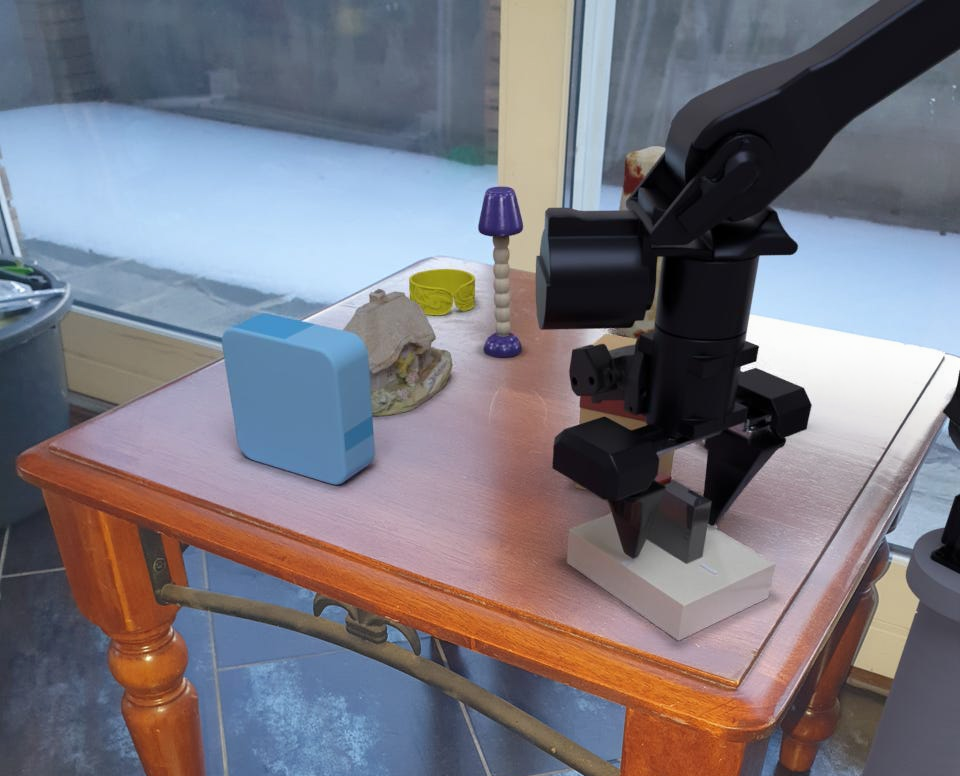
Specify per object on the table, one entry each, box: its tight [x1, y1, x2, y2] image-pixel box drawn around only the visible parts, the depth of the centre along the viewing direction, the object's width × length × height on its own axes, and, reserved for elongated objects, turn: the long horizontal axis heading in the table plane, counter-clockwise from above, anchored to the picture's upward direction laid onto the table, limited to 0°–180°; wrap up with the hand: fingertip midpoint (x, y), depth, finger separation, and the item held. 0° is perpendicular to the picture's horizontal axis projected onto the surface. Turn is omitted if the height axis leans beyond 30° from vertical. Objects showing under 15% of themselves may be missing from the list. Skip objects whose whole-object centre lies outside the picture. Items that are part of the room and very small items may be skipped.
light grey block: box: [566, 512, 776, 642], centre depth 73 cm, size 12×9×3 cm
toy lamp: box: [477, 186, 524, 358], centre depth 105 cm, size 5×5×17 cm
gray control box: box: [647, 472, 712, 563], centre depth 70 cm, size 5×2×5 cm, turn 35°
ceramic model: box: [342, 288, 454, 417], centre depth 98 cm, size 14×11×10 cm
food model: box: [613, 145, 665, 339], centre depth 107 cm, size 10×7×20 cm
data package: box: [221, 312, 376, 486], centre depth 85 cm, size 12×4×12 cm, turn 60°
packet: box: [574, 333, 675, 492], centre depth 81 cm, size 5×7×12 cm, turn 62°
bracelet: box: [408, 268, 476, 316], centre depth 121 cm, size 7×8×3 cm
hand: (670, 539), depth 71 cm, fingers open, 7 cm apart
